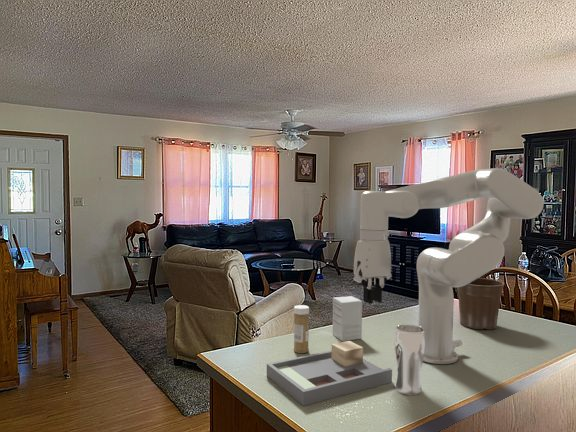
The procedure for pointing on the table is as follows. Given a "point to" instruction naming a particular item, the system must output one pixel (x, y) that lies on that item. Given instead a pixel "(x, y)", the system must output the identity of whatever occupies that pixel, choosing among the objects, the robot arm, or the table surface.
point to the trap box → (324, 377)
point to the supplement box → (347, 318)
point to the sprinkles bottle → (301, 328)
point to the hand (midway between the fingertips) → (372, 301)
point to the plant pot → (480, 303)
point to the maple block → (347, 353)
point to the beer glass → (409, 358)
